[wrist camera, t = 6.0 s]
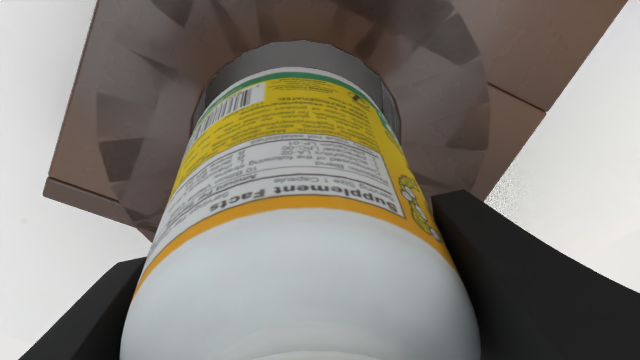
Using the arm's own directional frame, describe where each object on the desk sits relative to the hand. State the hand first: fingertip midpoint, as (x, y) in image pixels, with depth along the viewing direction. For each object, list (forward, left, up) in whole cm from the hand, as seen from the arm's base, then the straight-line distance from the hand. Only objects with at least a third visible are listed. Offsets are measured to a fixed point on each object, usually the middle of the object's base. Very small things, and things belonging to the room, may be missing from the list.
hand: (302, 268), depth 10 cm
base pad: (+15, -11, -8) cm, 20 cm away
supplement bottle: (0, 0, -5) cm, 5 cm away
